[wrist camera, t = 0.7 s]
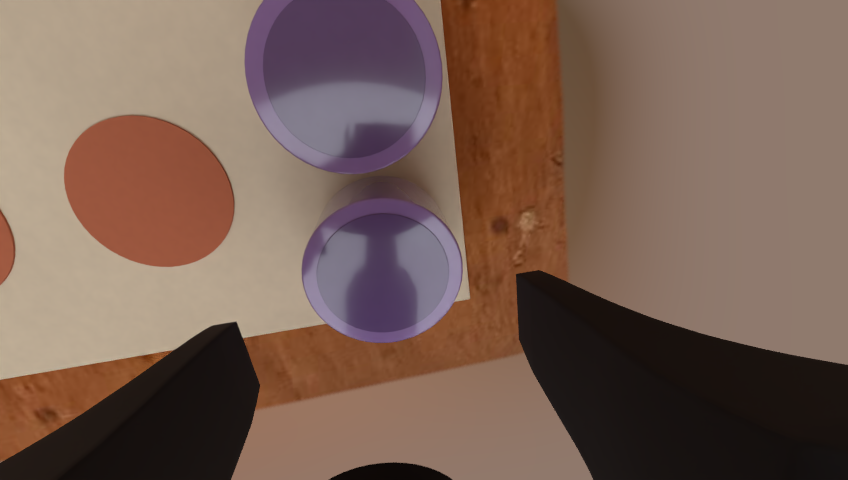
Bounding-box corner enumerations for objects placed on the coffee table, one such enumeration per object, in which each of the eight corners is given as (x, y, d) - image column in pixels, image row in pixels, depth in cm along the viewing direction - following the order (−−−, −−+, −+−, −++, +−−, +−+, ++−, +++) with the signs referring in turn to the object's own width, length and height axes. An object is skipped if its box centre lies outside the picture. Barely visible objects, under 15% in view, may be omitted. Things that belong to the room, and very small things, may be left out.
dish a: (396, 310, 18) (401, 368, 14) (293, 249, 17) (268, 296, 13) (469, 220, 17) (495, 258, 13) (366, 145, 15) (362, 163, 12)
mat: (-55, 384, 18) (-67, 392, 17) (-314, 39, 12) (-341, 36, 12) (468, 295, 19) (470, 300, 18) (433, -54, 14) (435, -59, 13)
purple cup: (372, 180, 16) (371, 209, 12) (251, 95, 14) (205, 97, 11) (455, 66, 15) (482, 58, 11) (332, -42, 13) (313, -94, 9)
